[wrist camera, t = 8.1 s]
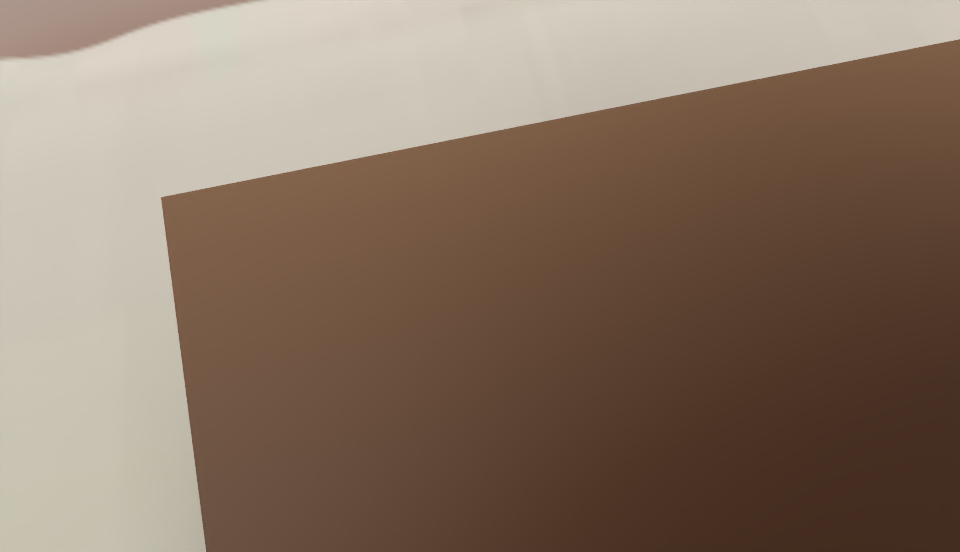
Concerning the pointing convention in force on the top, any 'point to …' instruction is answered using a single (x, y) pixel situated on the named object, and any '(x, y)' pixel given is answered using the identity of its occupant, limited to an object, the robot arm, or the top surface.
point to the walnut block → (594, 330)
